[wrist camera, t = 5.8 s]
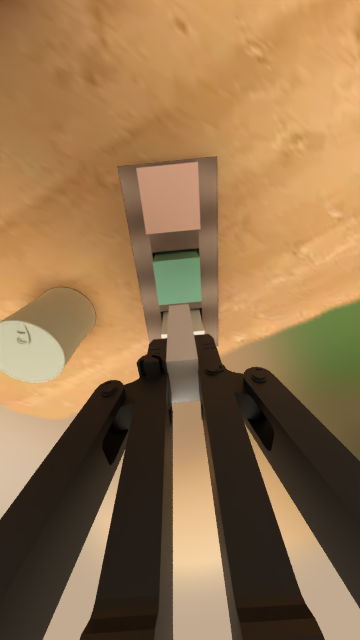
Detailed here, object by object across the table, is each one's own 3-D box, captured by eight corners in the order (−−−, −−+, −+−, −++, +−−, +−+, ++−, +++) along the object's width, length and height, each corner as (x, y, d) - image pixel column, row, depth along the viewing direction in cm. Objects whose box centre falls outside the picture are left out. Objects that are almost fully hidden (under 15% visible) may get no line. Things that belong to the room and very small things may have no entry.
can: (96, 292, 34) (61, 329, 23) (95, 340, 38) (64, 390, 27) (36, 281, 33) (-30, 315, 22) (41, 332, 37) (-13, 380, 26)
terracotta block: (145, 179, 25) (136, 168, 18) (191, 174, 25) (197, 161, 18) (152, 229, 27) (146, 234, 21) (194, 225, 27) (200, 229, 21)
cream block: (163, 311, 32) (161, 334, 26) (198, 307, 32) (204, 330, 26) (167, 340, 35) (166, 368, 29) (200, 337, 35) (205, 365, 29)
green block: (156, 251, 30) (152, 261, 24) (194, 248, 30) (199, 257, 24) (161, 287, 33) (158, 305, 27) (196, 284, 33) (201, 301, 26)
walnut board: (124, 172, 27) (117, 166, 23) (211, 163, 27) (217, 156, 23) (153, 339, 38) (151, 352, 35) (214, 333, 38) (218, 346, 34)
